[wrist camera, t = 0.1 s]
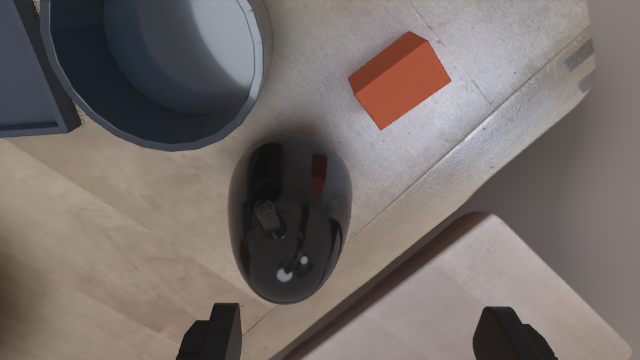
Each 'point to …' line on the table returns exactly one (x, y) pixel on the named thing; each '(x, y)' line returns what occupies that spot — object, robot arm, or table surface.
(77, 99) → the crock
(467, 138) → the table surface
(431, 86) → the sponge
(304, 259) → the pump dispenser
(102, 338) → the table surface
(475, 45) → the table surface
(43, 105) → the tray
